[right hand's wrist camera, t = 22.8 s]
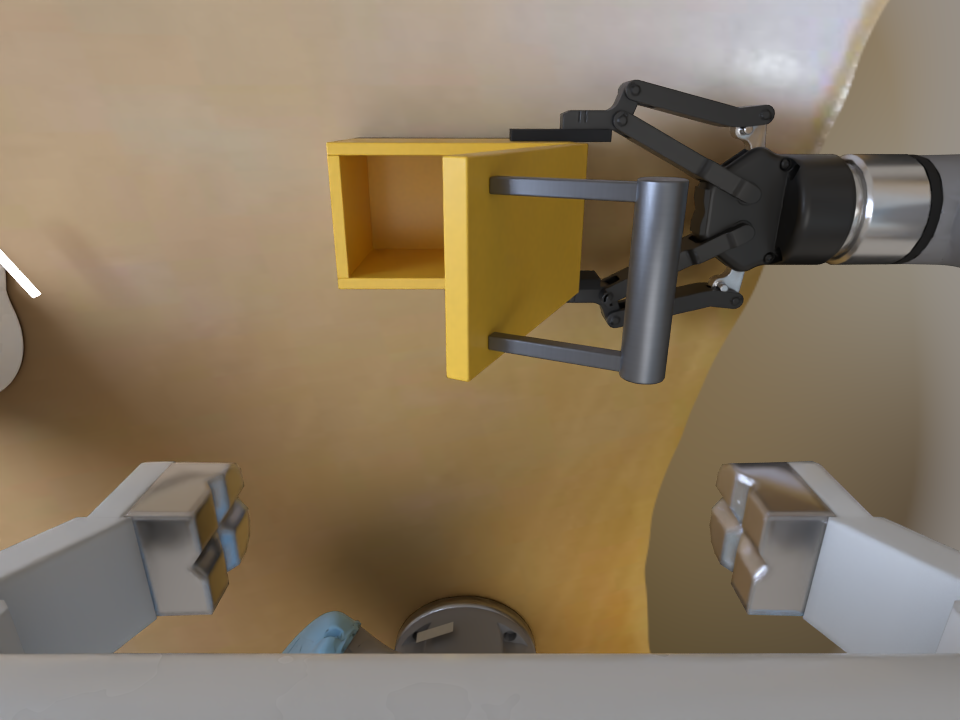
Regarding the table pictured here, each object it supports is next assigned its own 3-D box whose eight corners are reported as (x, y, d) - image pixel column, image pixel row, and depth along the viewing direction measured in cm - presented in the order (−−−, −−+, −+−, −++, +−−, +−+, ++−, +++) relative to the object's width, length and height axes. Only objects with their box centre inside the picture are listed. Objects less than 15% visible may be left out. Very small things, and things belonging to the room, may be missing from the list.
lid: (445, 378, 26) (651, 418, 23) (441, 155, 23) (682, 162, 19) (562, 290, 40) (702, 307, 36) (570, 142, 37) (725, 145, 33)
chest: (365, 256, 50) (338, 289, 40) (357, 137, 47) (325, 142, 37) (551, 256, 50) (569, 289, 40) (556, 138, 47) (578, 142, 37)
